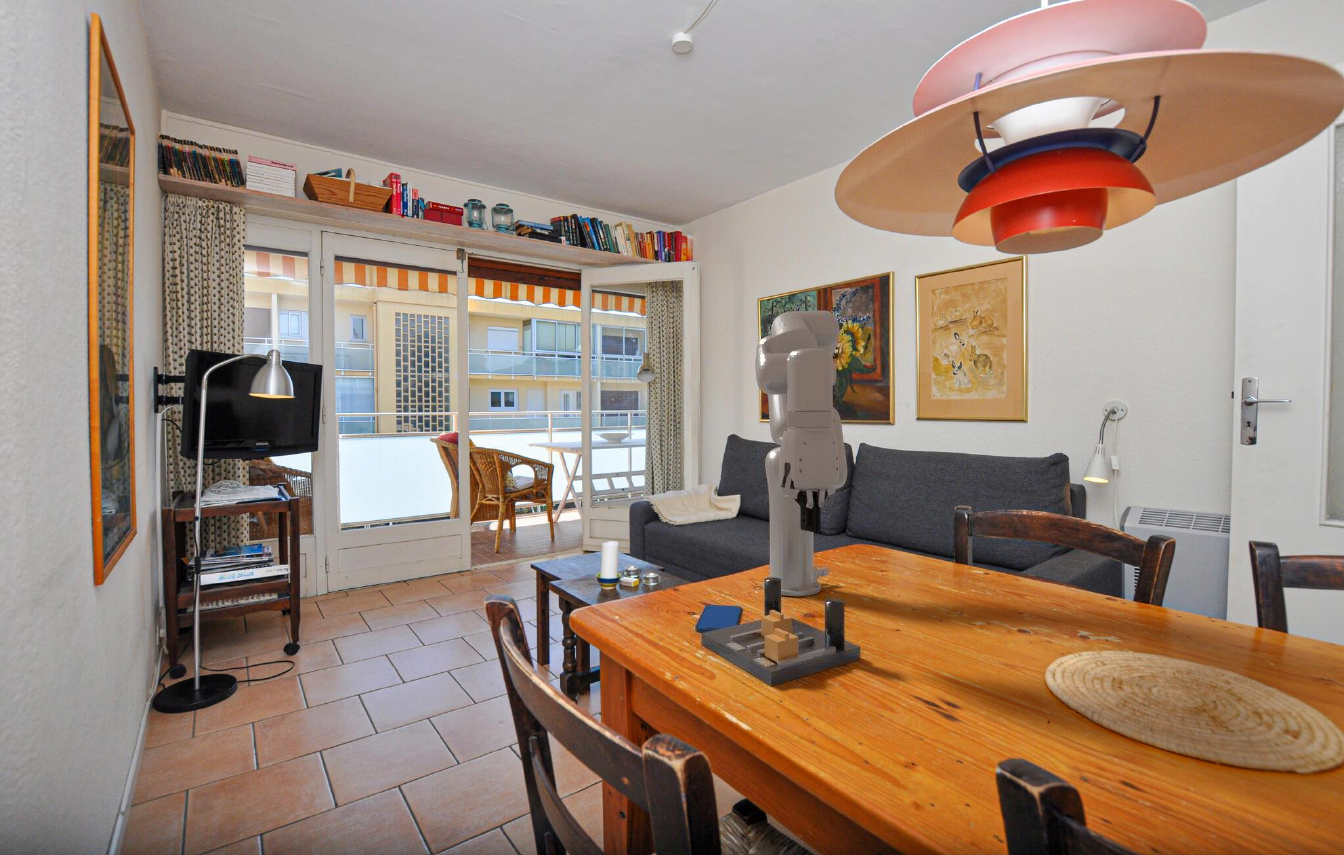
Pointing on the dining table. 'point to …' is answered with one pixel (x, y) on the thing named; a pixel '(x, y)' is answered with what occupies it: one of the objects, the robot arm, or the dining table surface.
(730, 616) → the smartphone
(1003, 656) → the dining table surface
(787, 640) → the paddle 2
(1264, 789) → the dining table surface
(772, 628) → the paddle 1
